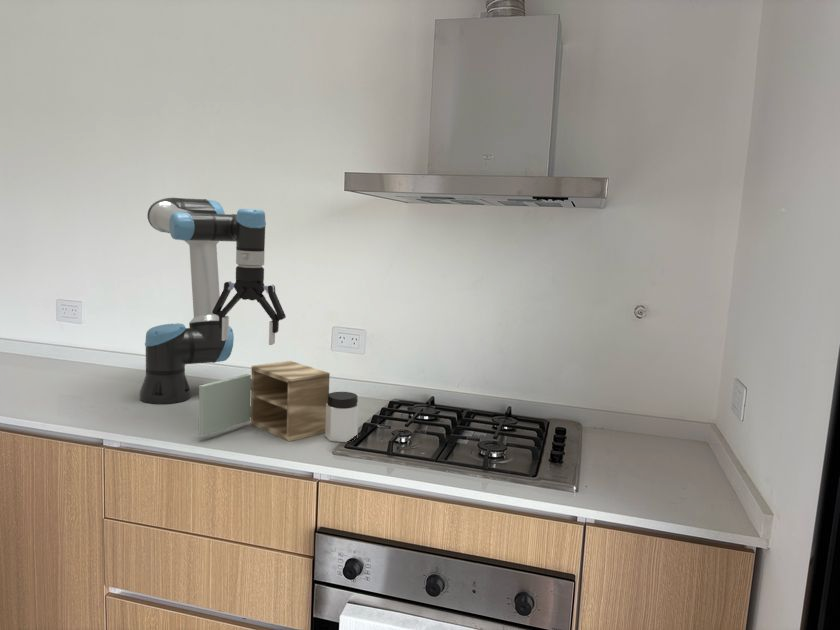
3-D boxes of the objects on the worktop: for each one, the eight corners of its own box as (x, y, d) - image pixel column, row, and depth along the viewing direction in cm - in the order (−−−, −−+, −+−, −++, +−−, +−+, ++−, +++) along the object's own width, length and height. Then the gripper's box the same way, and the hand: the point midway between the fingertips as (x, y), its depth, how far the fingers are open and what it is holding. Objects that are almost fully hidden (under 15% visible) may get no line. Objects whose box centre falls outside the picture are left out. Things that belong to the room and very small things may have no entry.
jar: (361, 441, 181) (362, 398, 180) (332, 444, 178) (333, 400, 176) (349, 431, 189) (351, 390, 188) (322, 434, 186) (323, 392, 184)
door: (244, 417, 191) (245, 372, 190) (252, 419, 190) (253, 374, 188) (194, 433, 175) (195, 384, 174) (203, 435, 174) (203, 386, 172)
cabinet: (250, 423, 191) (251, 365, 189) (288, 415, 201) (289, 360, 198) (289, 441, 178) (290, 379, 176) (327, 431, 188) (329, 373, 185)
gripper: (200, 263, 180) (199, 340, 184) (289, 270, 177) (287, 348, 181) (212, 261, 188) (211, 335, 191) (298, 268, 185) (295, 343, 188)
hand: (248, 342), depth 186 cm, fingers open, 13 cm apart
